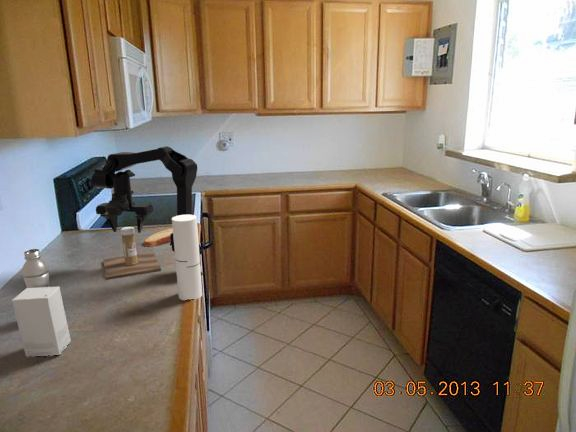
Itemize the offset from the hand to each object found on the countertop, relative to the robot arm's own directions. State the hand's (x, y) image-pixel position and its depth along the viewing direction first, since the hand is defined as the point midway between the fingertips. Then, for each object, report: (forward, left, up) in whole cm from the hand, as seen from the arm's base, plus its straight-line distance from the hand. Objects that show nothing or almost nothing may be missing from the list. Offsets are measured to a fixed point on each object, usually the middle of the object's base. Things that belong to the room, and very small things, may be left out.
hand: (127, 232), depth 150 cm
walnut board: (0, 0, -13) cm, 13 cm away
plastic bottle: (-29, +26, -13) cm, 41 cm away
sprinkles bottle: (0, 0, -12) cm, 12 cm away
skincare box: (-47, +24, -13) cm, 54 cm away
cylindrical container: (-33, -14, -13) cm, 38 cm away
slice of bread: (+25, -17, -14) cm, 33 cm away
